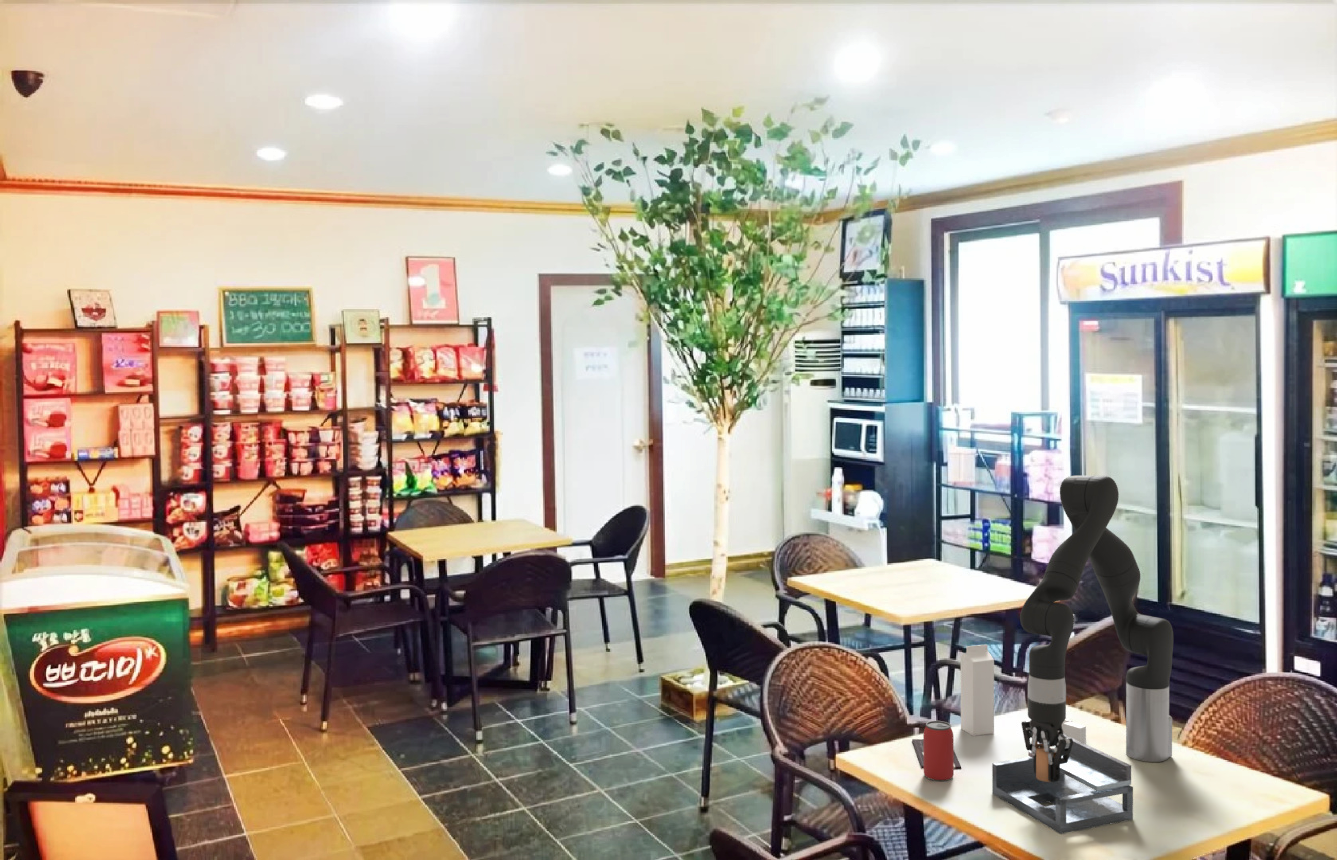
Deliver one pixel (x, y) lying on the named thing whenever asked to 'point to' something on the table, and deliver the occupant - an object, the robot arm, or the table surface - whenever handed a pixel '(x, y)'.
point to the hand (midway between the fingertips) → (1046, 776)
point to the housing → (1059, 798)
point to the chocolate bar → (920, 753)
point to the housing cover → (1095, 767)
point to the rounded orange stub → (1042, 764)
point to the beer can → (938, 751)
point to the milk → (977, 691)
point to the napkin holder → (1074, 730)
